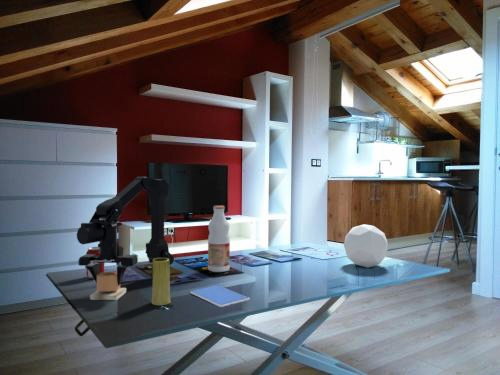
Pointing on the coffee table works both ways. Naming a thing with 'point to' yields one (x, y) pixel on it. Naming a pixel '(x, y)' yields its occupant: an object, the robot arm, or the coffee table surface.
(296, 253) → the coffee table surface
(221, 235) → the fruit juice
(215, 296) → the tablet computer
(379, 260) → the geometric polyhedron
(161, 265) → the vase
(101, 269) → the soda can
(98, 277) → the ring
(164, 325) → the coffee table surface
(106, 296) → the shaft block
